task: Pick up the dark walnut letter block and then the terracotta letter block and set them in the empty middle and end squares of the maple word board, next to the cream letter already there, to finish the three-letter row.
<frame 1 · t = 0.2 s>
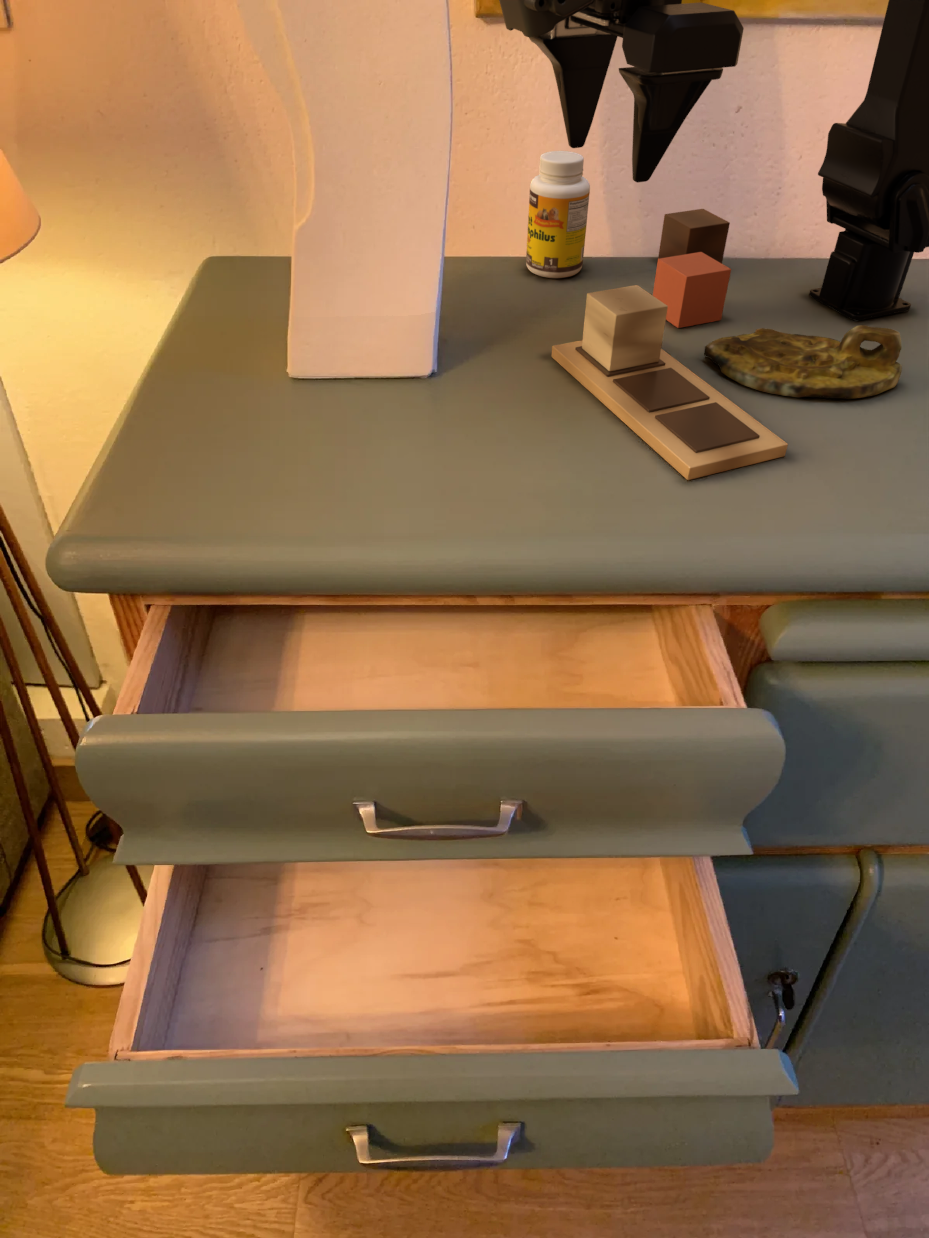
hand: (606, 163, 64), 15 cm above the table, tool pointing down, fingers open, 9 cm apart
walnut letter block: (688, 265, 88), on the table
olive brown carved pendant: (796, 374, 71), on the table
word board: (658, 402, 67), on the table
supplement bottle: (553, 272, 88), on the table
terracotta letter block: (685, 314, 80), on the table
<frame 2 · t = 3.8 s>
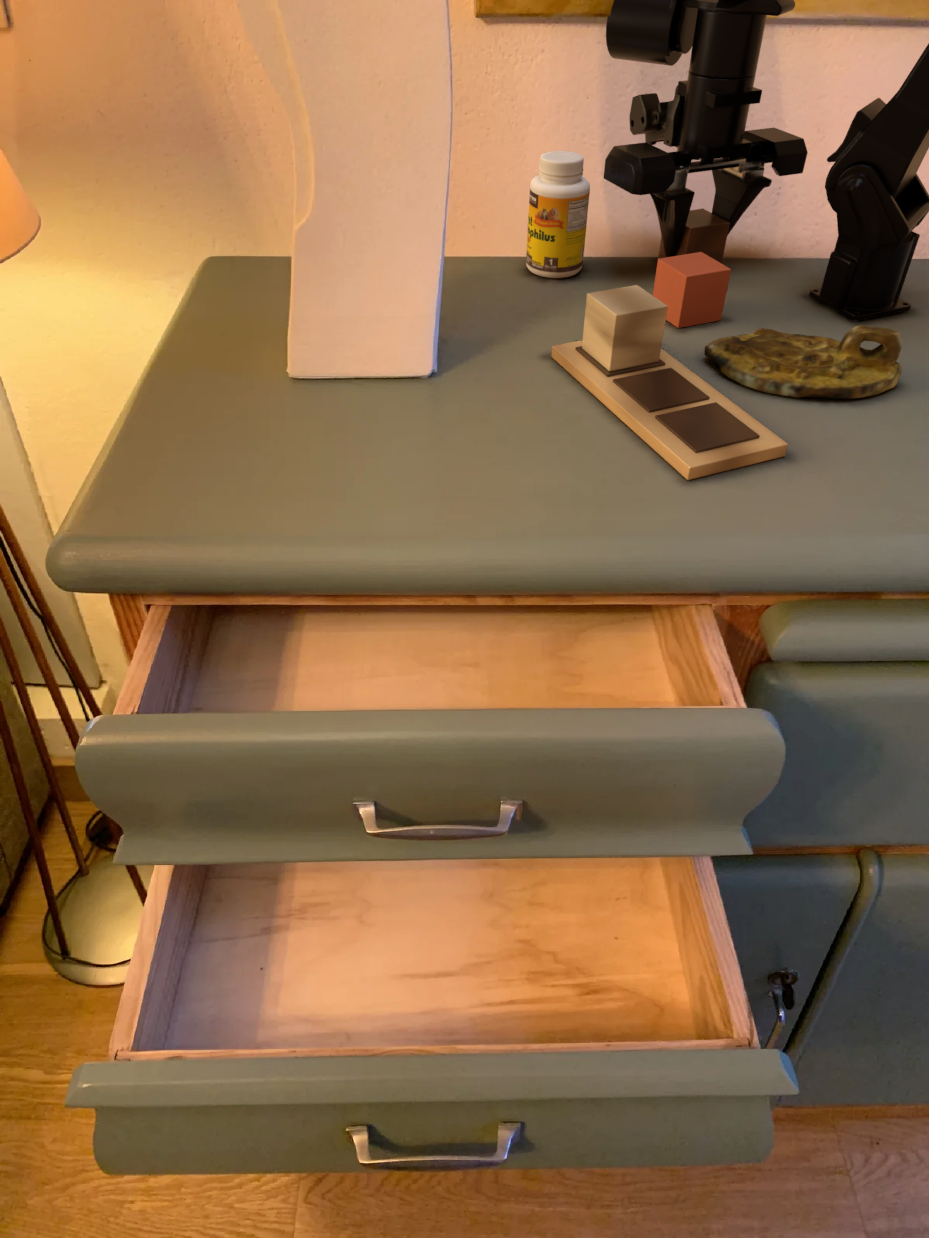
hand: (690, 255, 88), 1 cm above the table, tool pointing down, fingers closed on walnut letter block, 4 cm apart
walnut letter block: (688, 265, 88), on the table, touching gripper
everything else where it was.
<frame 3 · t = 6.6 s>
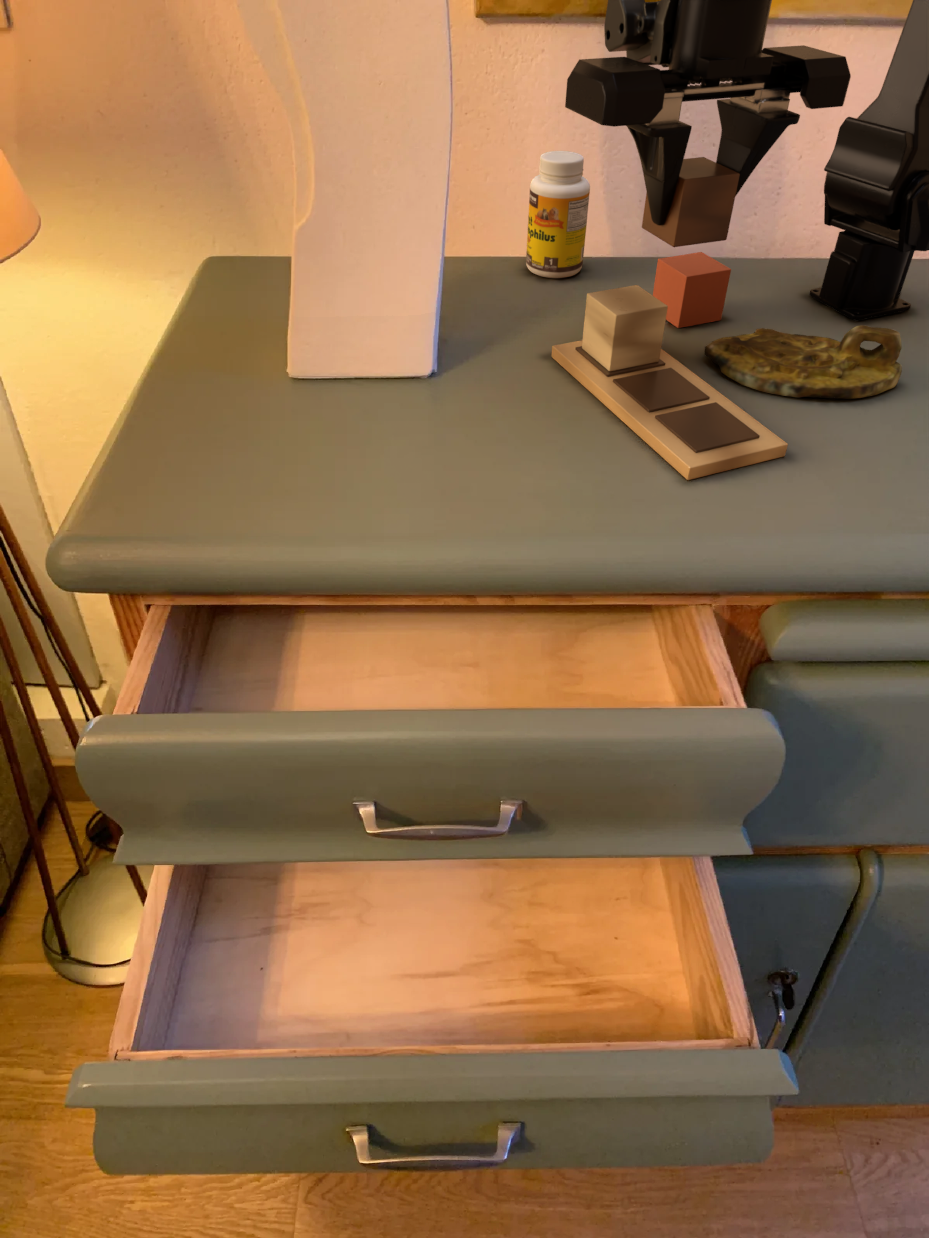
hand: (686, 220, 65), 11 cm above the table, tool pointing down, fingers closed on walnut letter block, 4 cm apart
walnut letter block: (683, 234, 65), point 10 cm above the table, touching gripper
everything else where it was.
when the fingers open (2 cm above the table, at t = 9.6 s): walnut letter block stays where it is, resting on word board.
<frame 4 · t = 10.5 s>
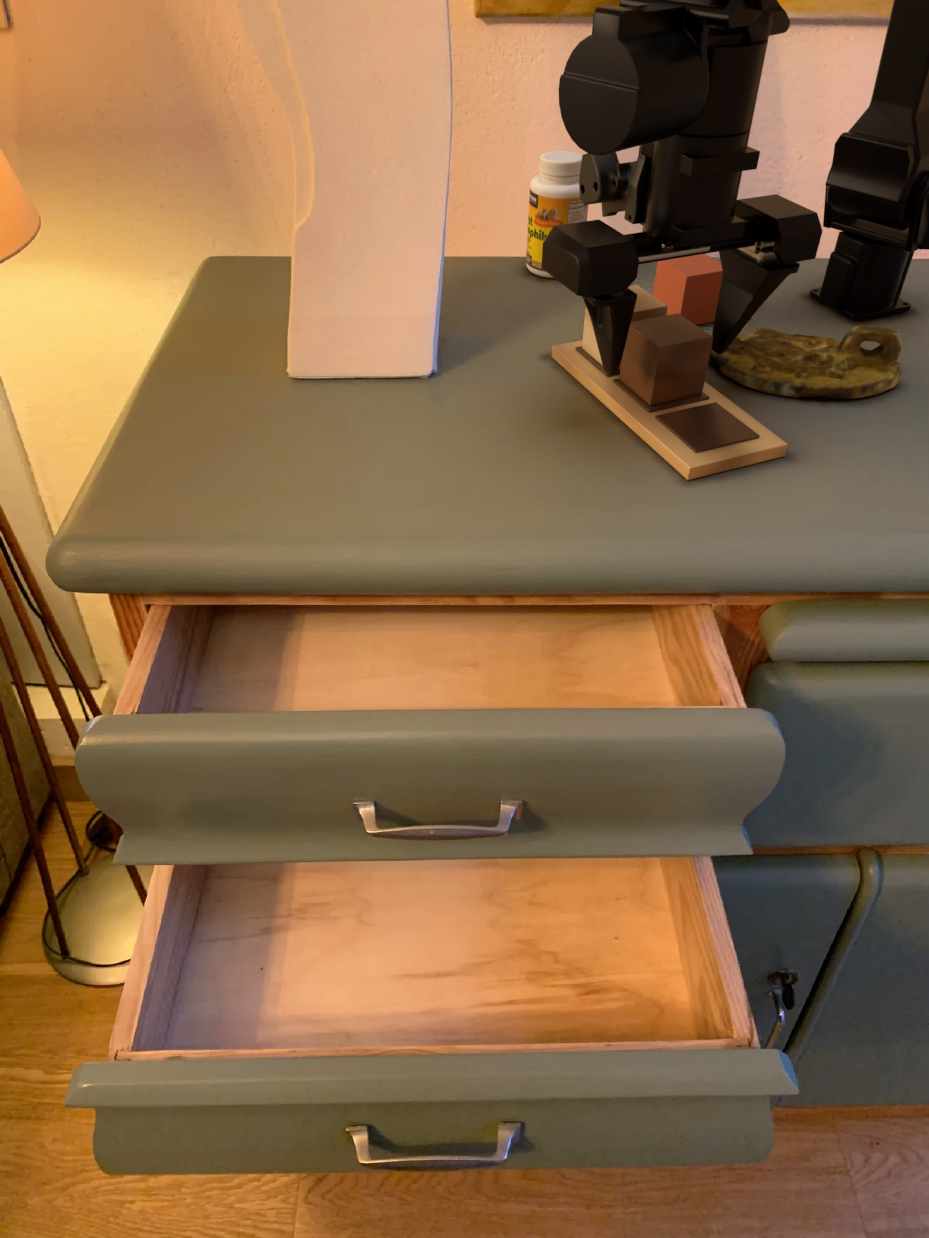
hand: (664, 362, 65), 3 cm above the table, tool pointing down, fingers open, 9 cm apart
walnut letter block: (659, 387, 67), point 1 cm above the table, touching word board
everything else where it was.
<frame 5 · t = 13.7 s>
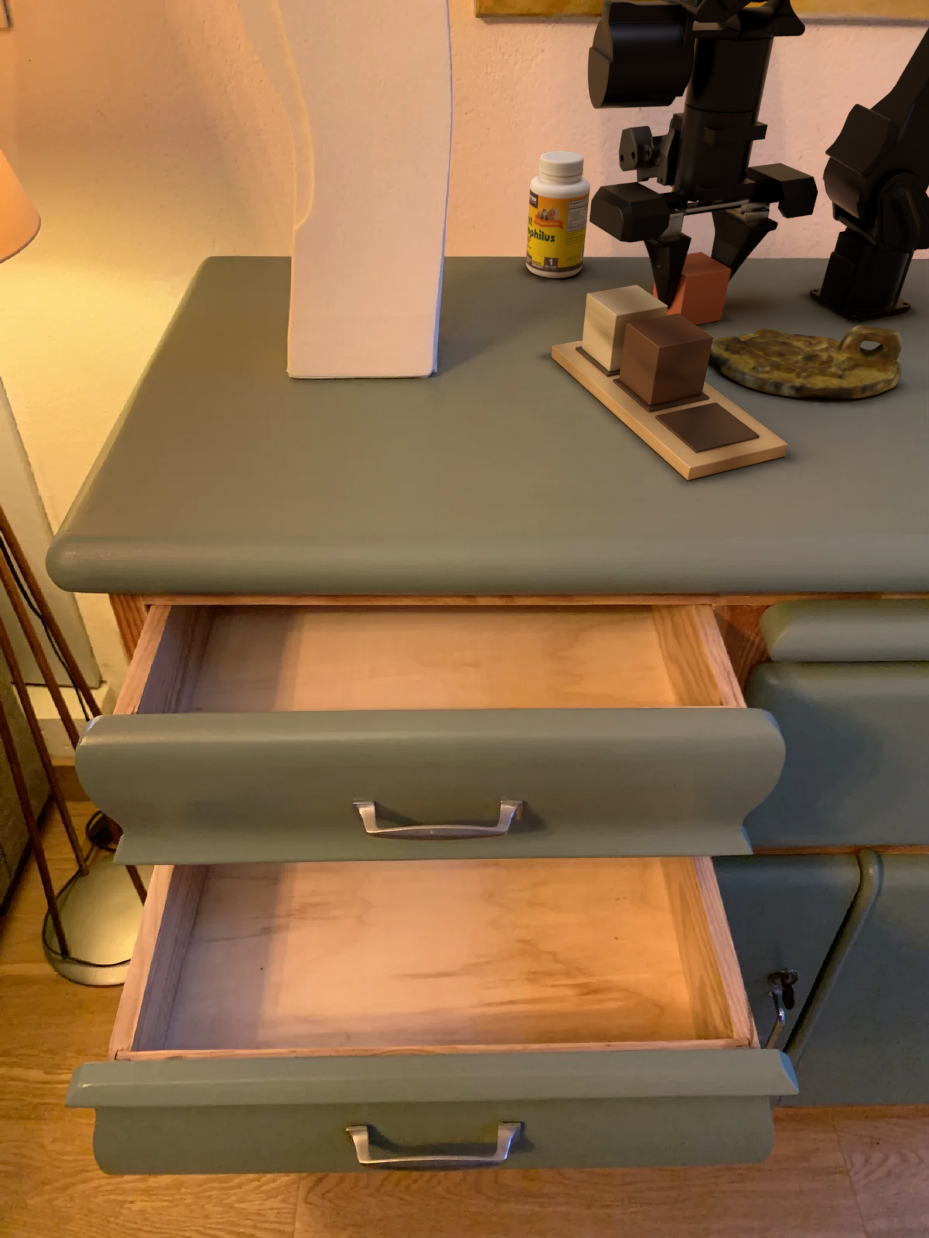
hand: (687, 303, 79), 1 cm above the table, tool pointing down, fingers closed on terracotta letter block, 4 cm apart
terracotta letter block: (685, 314, 80), on the table, touching gripper
everything else where it was.
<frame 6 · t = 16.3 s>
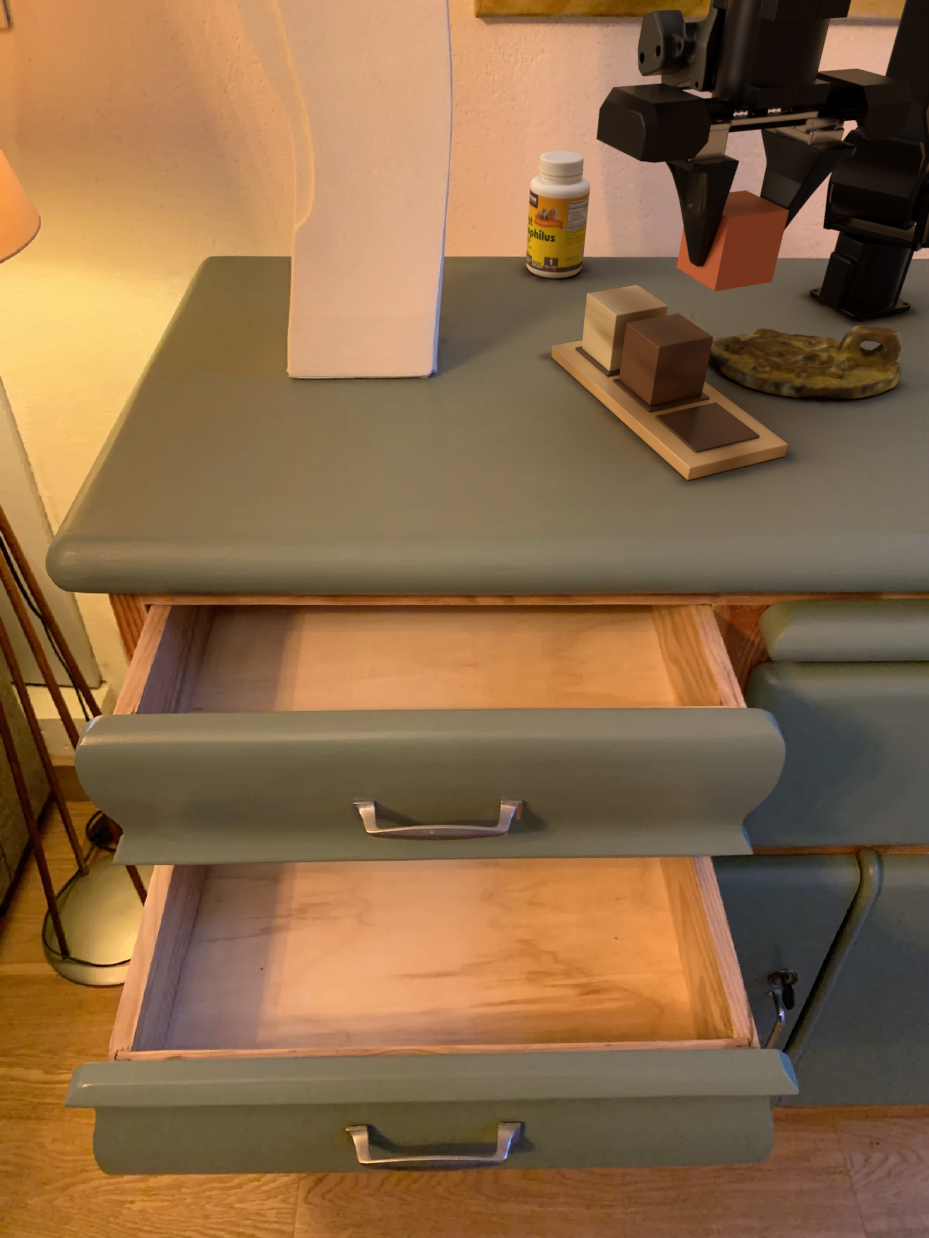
hand: (727, 260, 59), 11 cm above the table, tool pointing down, fingers closed on terracotta letter block, 4 cm apart
terracotta letter block: (723, 275, 59), point 10 cm above the table, touching gripper
everything else where it was.
when the fingers open (2 cm above the table, at t = 19.1 s): terracotta letter block stays where it is, resting on word board.
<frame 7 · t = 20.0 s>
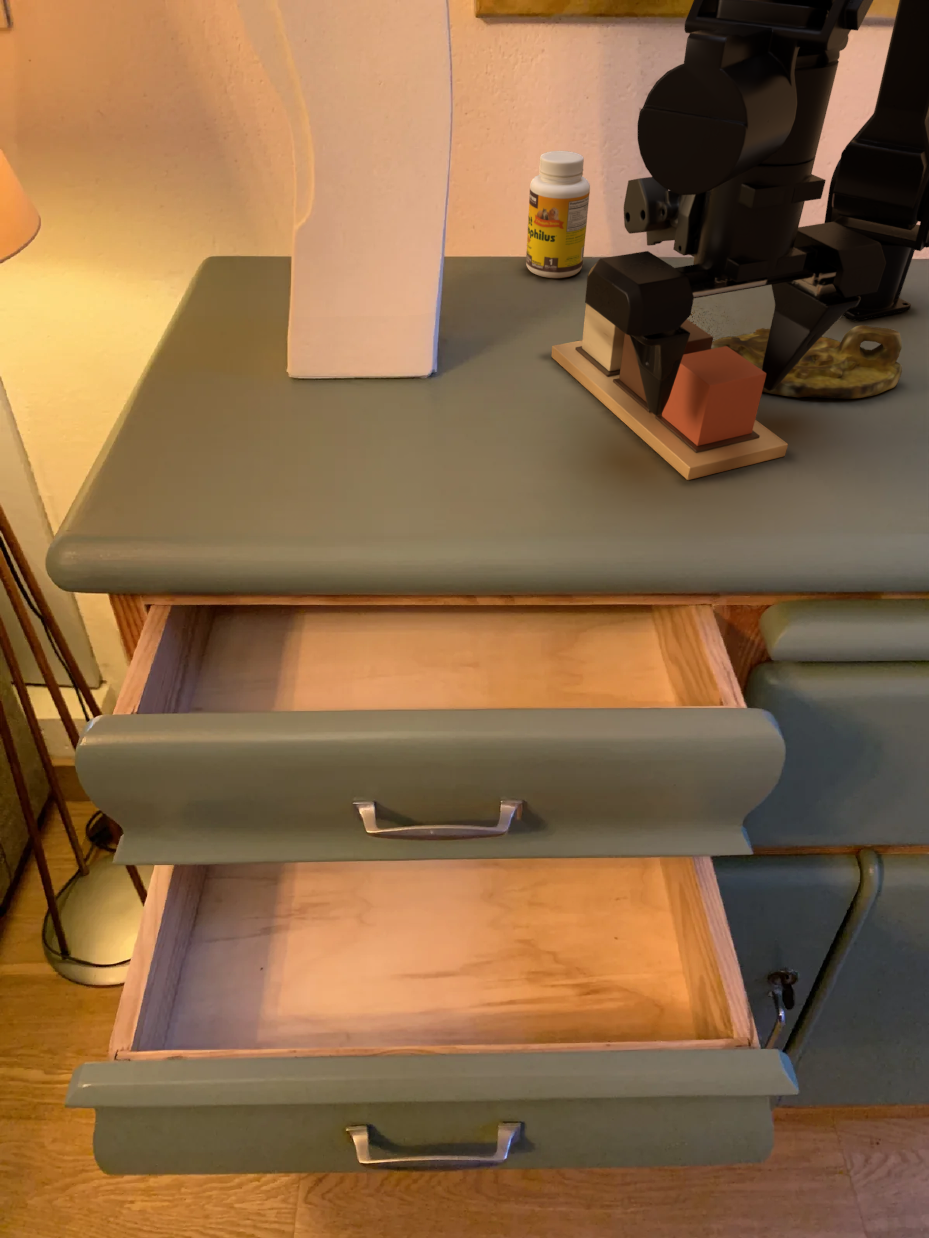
hand: (711, 400, 61), 3 cm above the table, tool pointing down, fingers open, 9 cm apart
terracotta letter block: (706, 424, 63), point 1 cm above the table, touching word board
everything else where it was.
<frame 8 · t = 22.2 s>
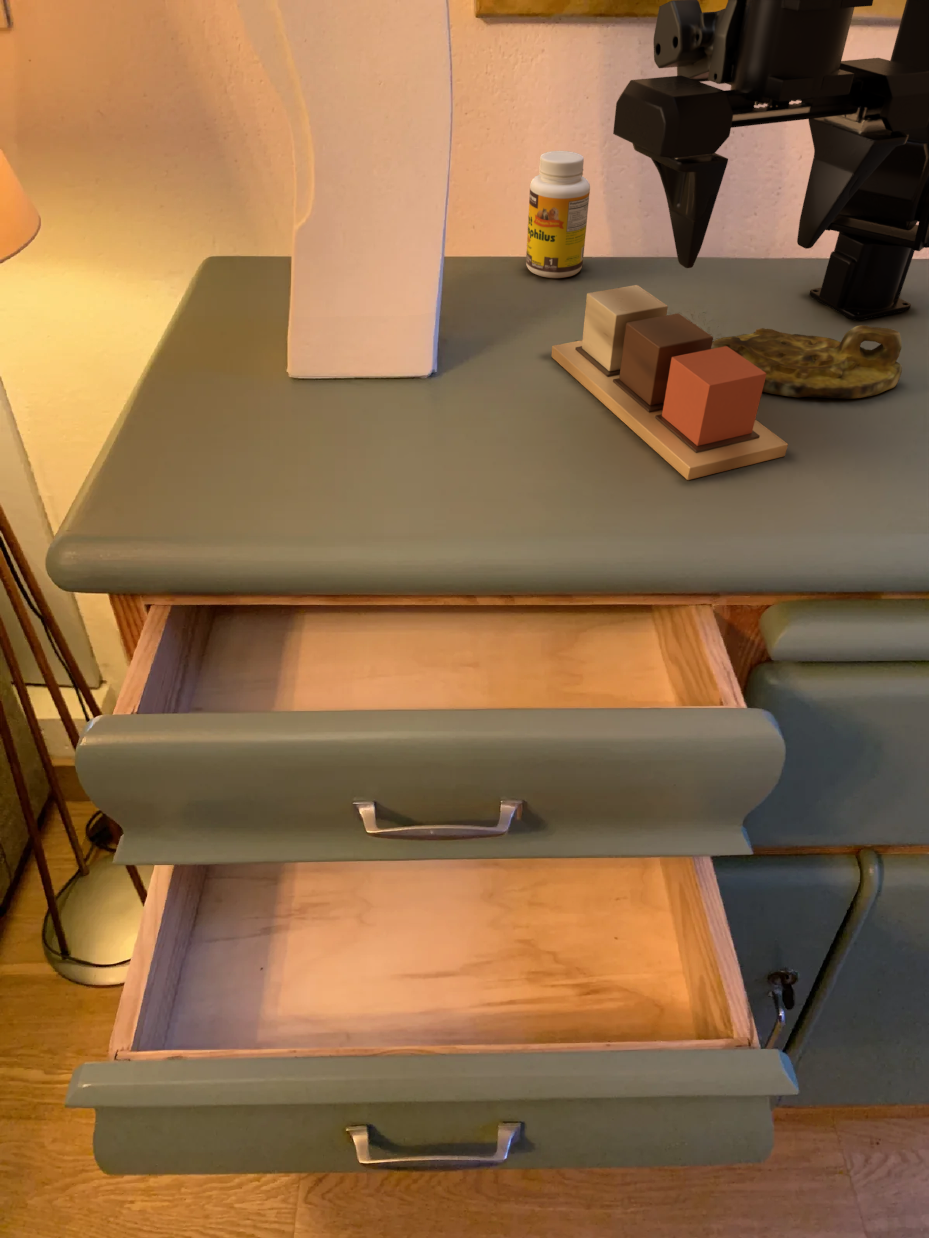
hand: (745, 256, 57), 12 cm above the table, tool pointing down, fingers open, 9 cm apart
nothing on the table moved.
at the end: walnut letter block 0.1 cm off-centre on the word board, point 1.2 cm above the word board's base; terracotta letter block 0.1 cm from the target spot on the word board, point 1.2 cm above the word board's base; terracotta letter block tilted 0° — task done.
